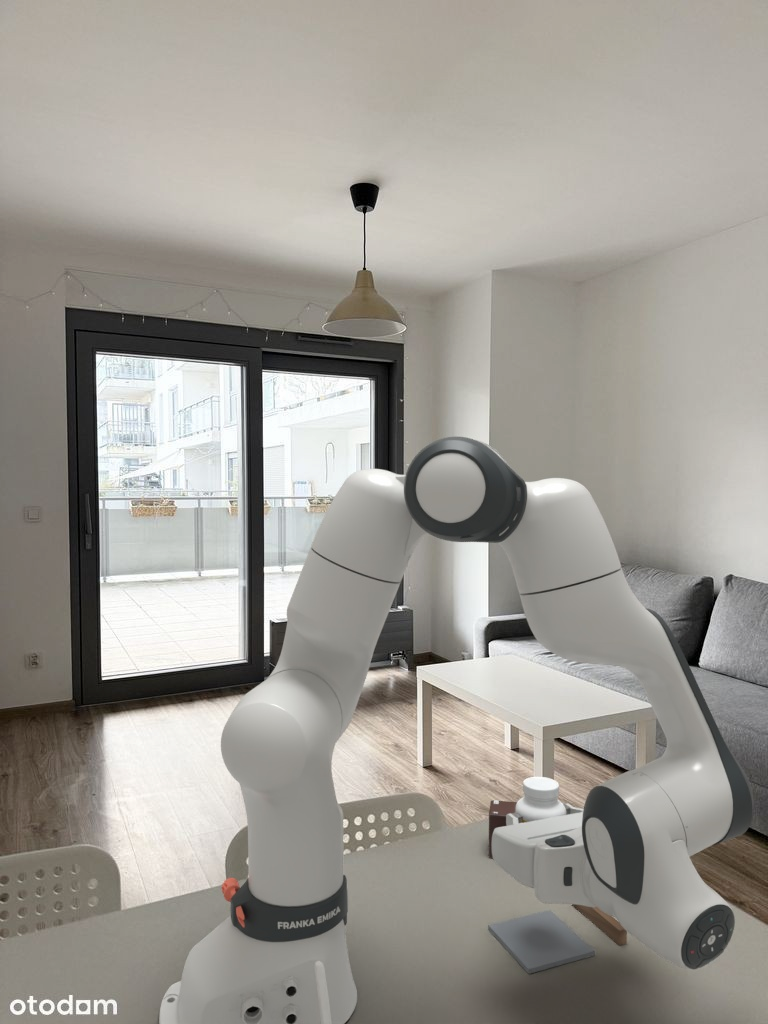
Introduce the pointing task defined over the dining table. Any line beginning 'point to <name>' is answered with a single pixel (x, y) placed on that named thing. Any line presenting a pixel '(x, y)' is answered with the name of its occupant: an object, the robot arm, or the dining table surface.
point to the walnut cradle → (604, 923)
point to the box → (498, 817)
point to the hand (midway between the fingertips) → (536, 814)
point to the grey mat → (540, 941)
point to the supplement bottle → (540, 800)
